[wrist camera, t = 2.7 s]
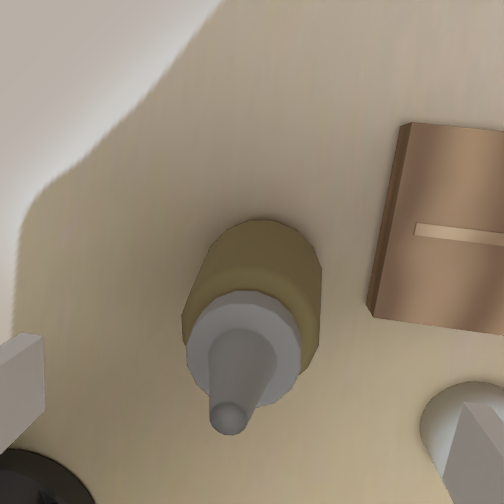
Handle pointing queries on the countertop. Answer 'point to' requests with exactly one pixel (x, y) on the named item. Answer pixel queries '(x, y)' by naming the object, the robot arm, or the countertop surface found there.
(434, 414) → the white dome cap
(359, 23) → the countertop surface
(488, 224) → the plate
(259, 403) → the squeeze bottle
